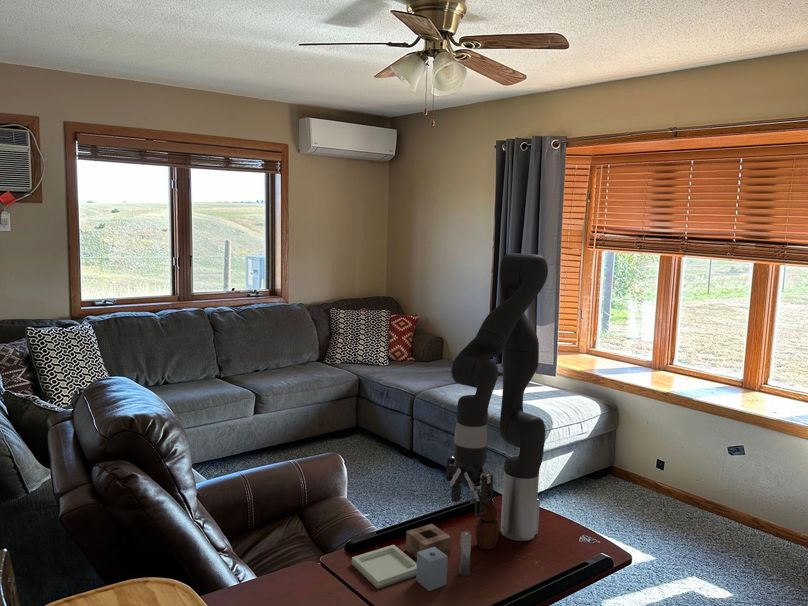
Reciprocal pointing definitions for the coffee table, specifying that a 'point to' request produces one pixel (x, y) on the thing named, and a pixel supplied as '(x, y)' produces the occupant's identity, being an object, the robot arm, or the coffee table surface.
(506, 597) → the coffee table surface
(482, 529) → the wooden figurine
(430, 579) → the slate block
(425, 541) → the wooden socket block
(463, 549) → the pin
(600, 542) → the coffee table surface
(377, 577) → the tray
